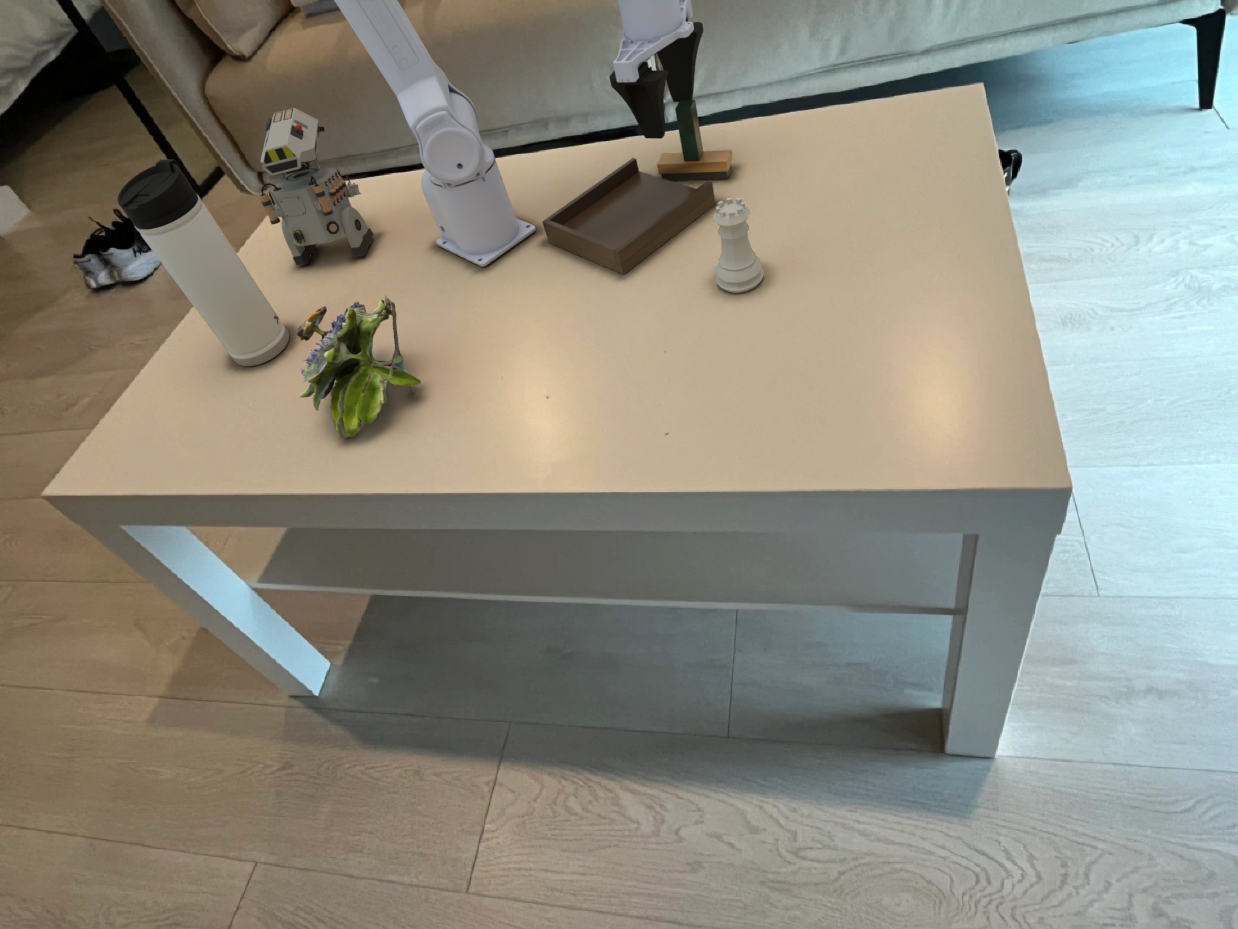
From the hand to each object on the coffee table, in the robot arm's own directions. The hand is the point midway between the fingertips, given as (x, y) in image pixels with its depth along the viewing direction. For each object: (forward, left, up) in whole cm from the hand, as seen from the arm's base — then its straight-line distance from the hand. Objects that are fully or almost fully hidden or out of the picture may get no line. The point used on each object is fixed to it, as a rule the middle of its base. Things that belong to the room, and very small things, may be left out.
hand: (669, 118), depth 87 cm
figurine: (-30, -29, -7) cm, 42 cm away
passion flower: (-1, -41, -7) cm, 42 cm away
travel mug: (-20, -45, -7) cm, 50 cm away
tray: (+1, -9, -7) cm, 12 cm away
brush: (+1, +2, -7) cm, 7 cm away
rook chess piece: (+18, -11, -7) cm, 22 cm away
